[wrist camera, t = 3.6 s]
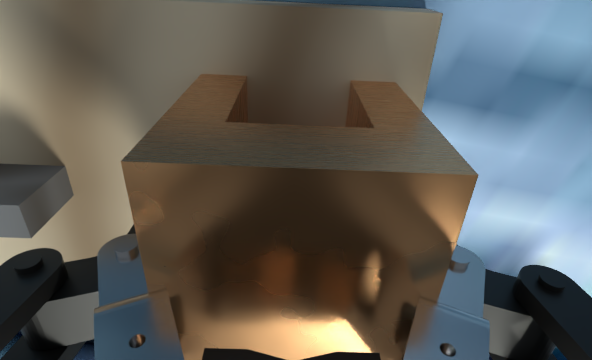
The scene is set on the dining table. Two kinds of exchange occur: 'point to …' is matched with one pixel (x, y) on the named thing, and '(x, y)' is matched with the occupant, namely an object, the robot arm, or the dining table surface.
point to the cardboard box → (295, 221)
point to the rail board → (166, 91)
